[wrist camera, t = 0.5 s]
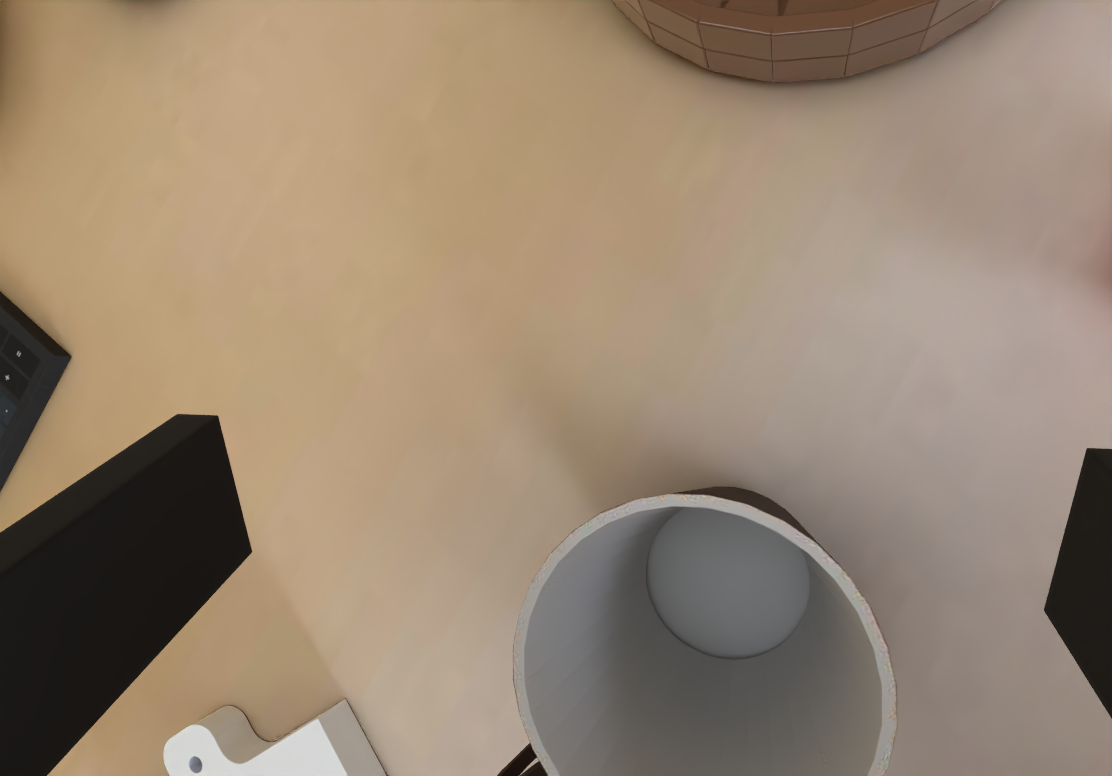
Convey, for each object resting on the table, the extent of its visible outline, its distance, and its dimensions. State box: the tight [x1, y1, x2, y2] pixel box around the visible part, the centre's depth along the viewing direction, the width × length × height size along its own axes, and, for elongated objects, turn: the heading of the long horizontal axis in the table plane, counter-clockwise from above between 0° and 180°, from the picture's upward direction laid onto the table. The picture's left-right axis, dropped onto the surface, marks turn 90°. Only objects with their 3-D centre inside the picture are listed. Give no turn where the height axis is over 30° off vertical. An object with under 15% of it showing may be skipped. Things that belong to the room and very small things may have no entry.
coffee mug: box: [497, 487, 897, 776], centre depth 22 cm, size 12×9×10 cm
